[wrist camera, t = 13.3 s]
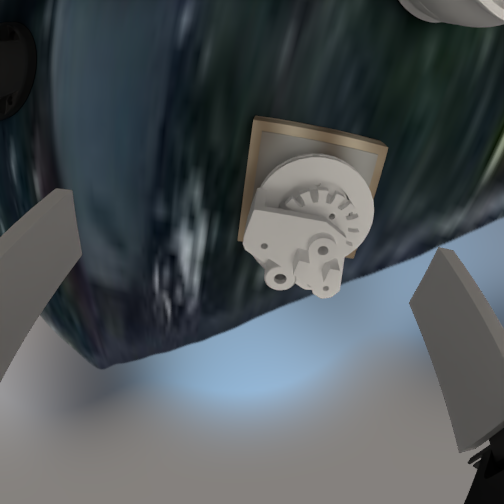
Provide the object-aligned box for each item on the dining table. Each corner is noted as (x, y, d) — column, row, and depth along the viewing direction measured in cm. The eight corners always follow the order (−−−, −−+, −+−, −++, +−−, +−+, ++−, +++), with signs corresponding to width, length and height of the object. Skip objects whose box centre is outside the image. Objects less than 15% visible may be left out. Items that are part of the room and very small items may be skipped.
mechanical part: (380, 188, 31) (422, 248, 21) (307, 260, 37) (315, 336, 27) (301, 118, 28) (315, 148, 18) (229, 205, 34) (208, 271, 24)
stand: (240, 228, 39) (237, 242, 36) (255, 115, 31) (253, 120, 28) (348, 245, 39) (353, 259, 36) (379, 140, 31) (389, 148, 28)
